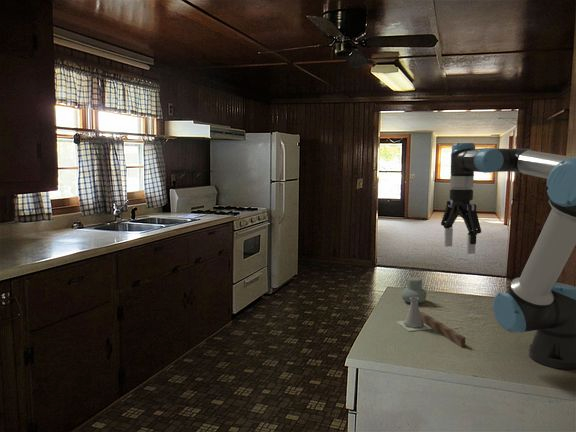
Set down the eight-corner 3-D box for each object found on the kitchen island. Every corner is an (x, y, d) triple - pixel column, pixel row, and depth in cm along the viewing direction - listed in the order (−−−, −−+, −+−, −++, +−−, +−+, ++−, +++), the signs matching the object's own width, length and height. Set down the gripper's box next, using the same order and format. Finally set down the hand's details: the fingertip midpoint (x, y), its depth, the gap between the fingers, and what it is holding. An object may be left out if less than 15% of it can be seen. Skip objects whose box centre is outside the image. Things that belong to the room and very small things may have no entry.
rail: (465, 346, 160) (465, 337, 159) (460, 347, 159) (461, 338, 159) (422, 319, 186) (422, 312, 185) (419, 320, 185) (419, 312, 185)
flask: (424, 329, 175) (425, 301, 174) (403, 327, 176) (404, 300, 175) (423, 322, 182) (424, 295, 181) (403, 321, 183) (403, 294, 182)
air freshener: (419, 306, 201) (420, 282, 200) (400, 303, 206) (400, 280, 204) (427, 300, 211) (428, 277, 209) (408, 297, 215) (409, 274, 214)
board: (431, 329, 175) (431, 328, 175) (408, 331, 173) (408, 330, 173) (417, 320, 185) (417, 319, 185) (395, 322, 183) (395, 321, 183)
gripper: (494, 190, 158) (491, 256, 160) (450, 186, 182) (448, 243, 184) (474, 191, 156) (471, 257, 158) (432, 186, 180) (430, 244, 183)
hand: (459, 249), depth 171 cm, fingers open, 13 cm apart
